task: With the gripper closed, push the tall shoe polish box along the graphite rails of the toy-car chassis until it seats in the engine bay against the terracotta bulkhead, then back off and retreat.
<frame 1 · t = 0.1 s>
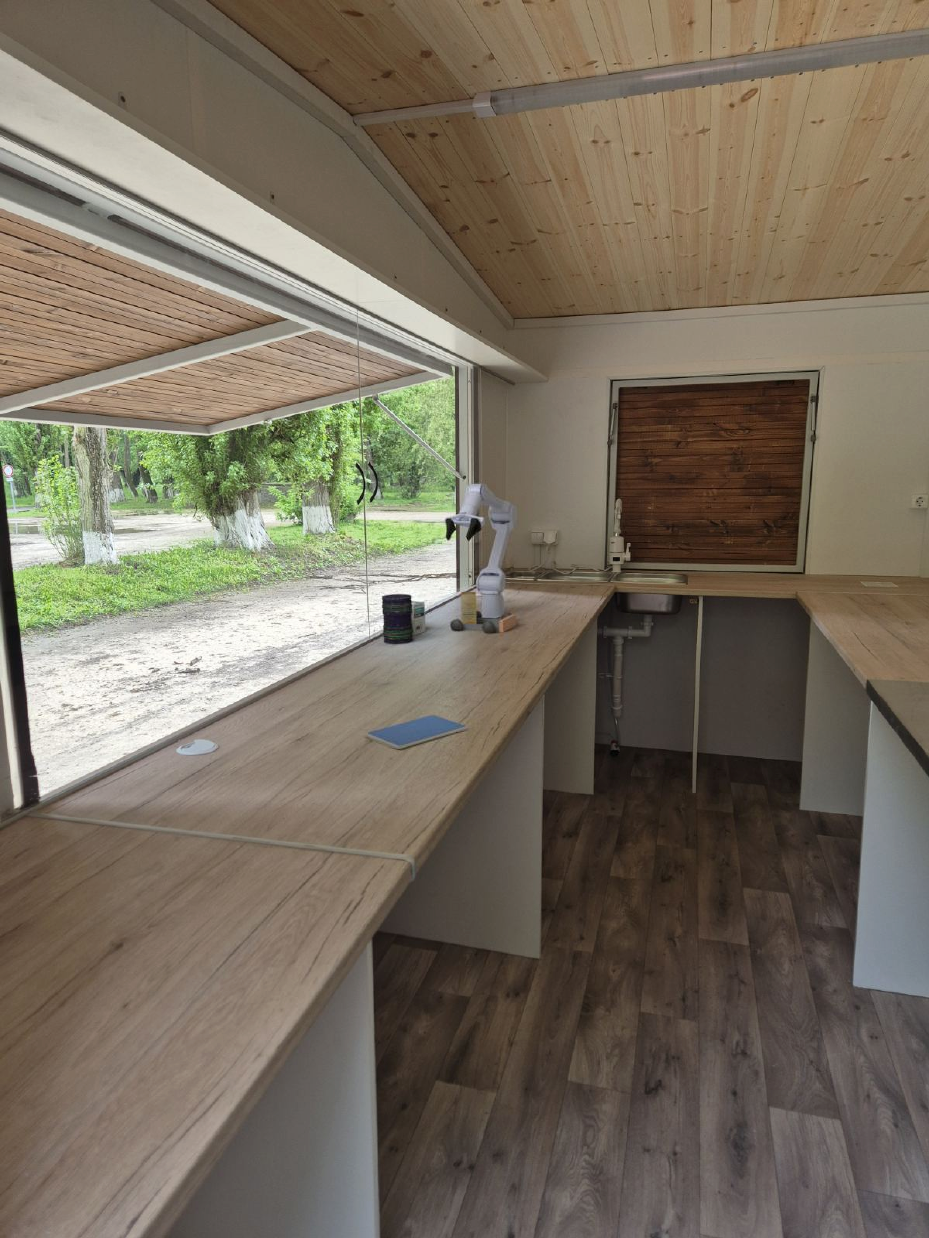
hand: (457, 538, 279), 32 cm above the worktop, tool tilted 50°, fingers open, 7 cm apart
tablet computer: (417, 735, 177), on the worktop
storage jar: (398, 641, 270), on the worktop
shoe polish box: (469, 627, 292), resting in chassis
chassis: (484, 627, 289), on the worktop
light bulb box: (408, 633, 284), on the worktop
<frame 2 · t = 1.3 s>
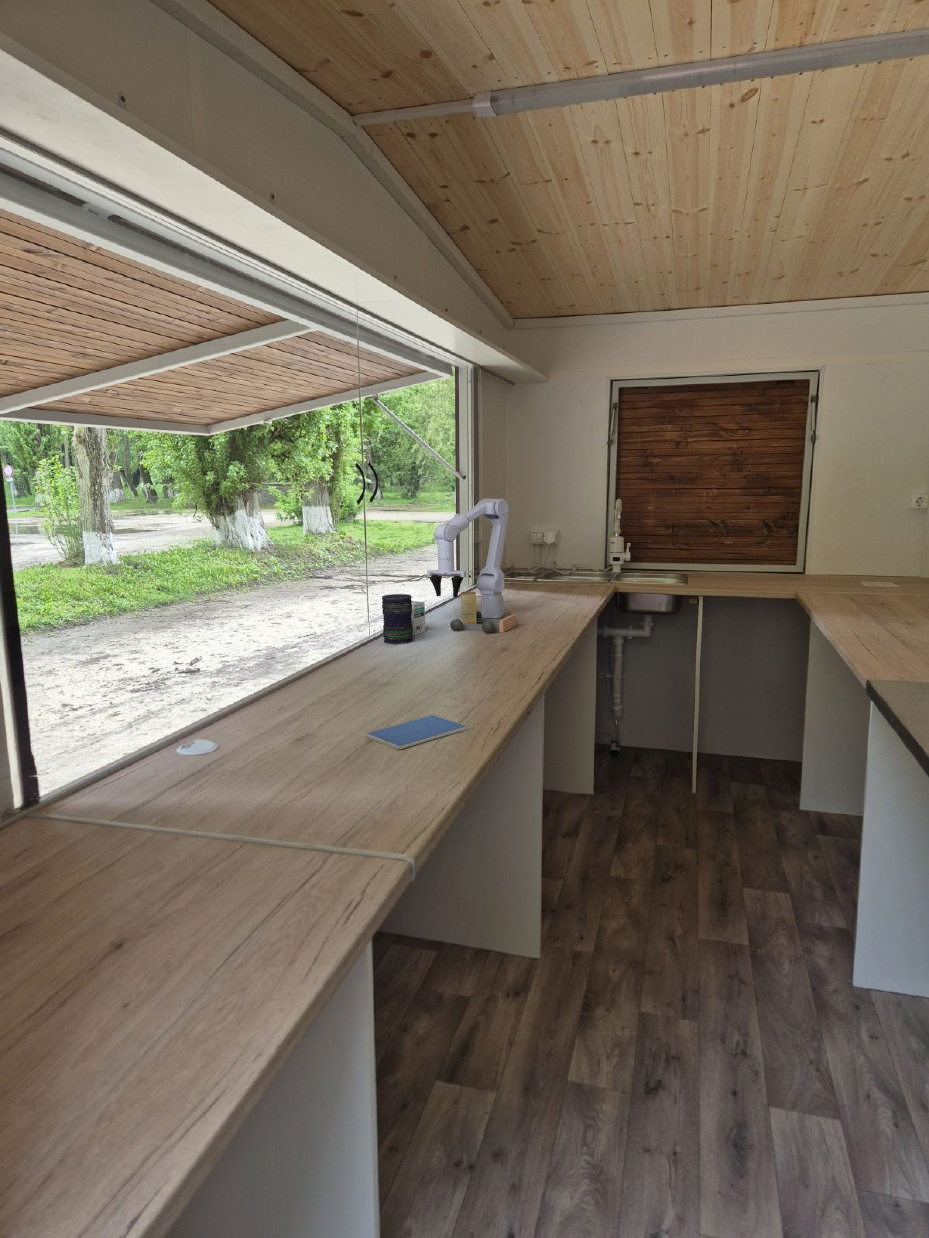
hand: (447, 596, 293), 10 cm above the worktop, tool pointing down, fingers open, 6 cm apart
nothing on the worktop moved.
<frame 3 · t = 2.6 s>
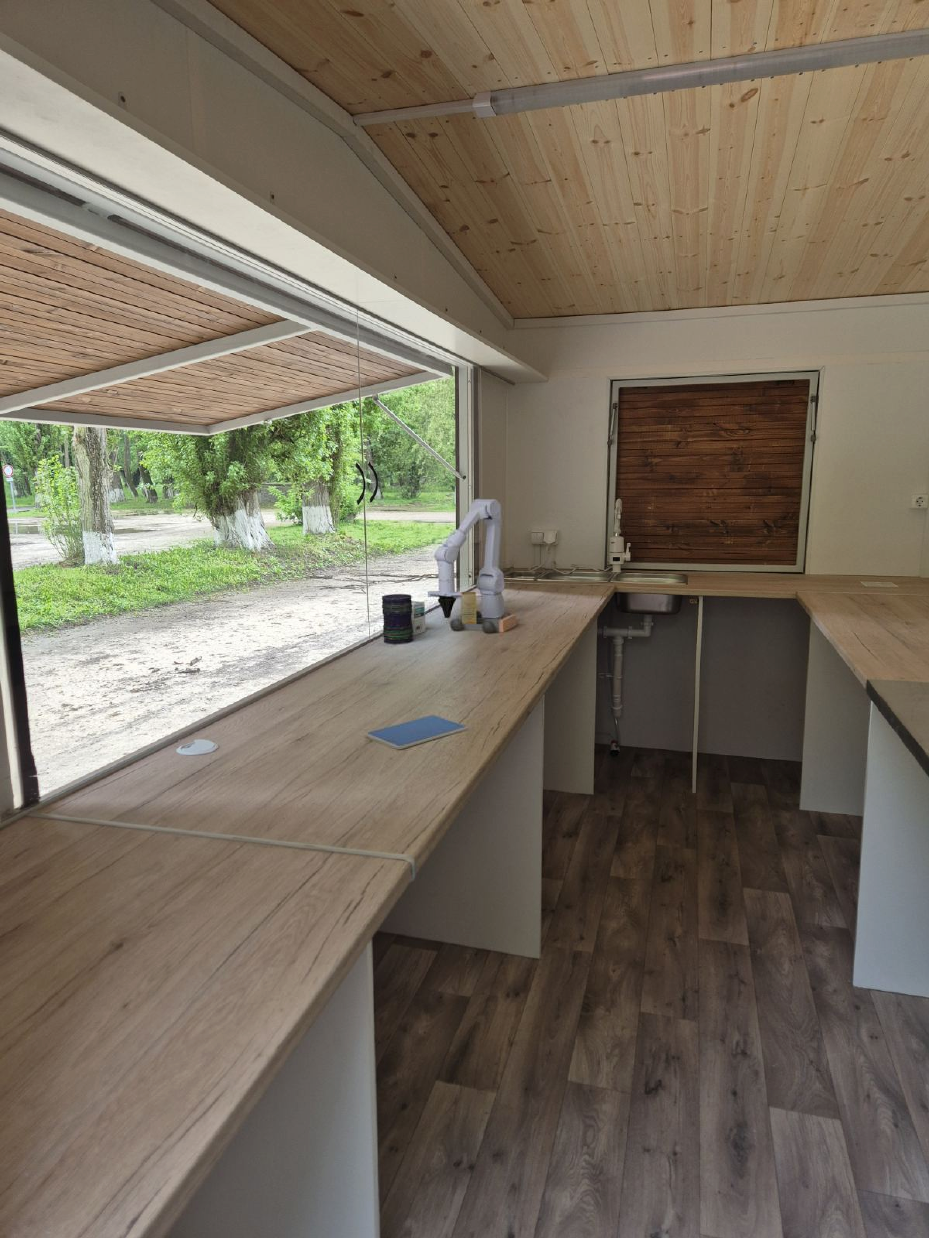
hand: (447, 617, 295), 3 cm above the worktop, tool pointing down, fingers closed
nothing on the worktop moved.
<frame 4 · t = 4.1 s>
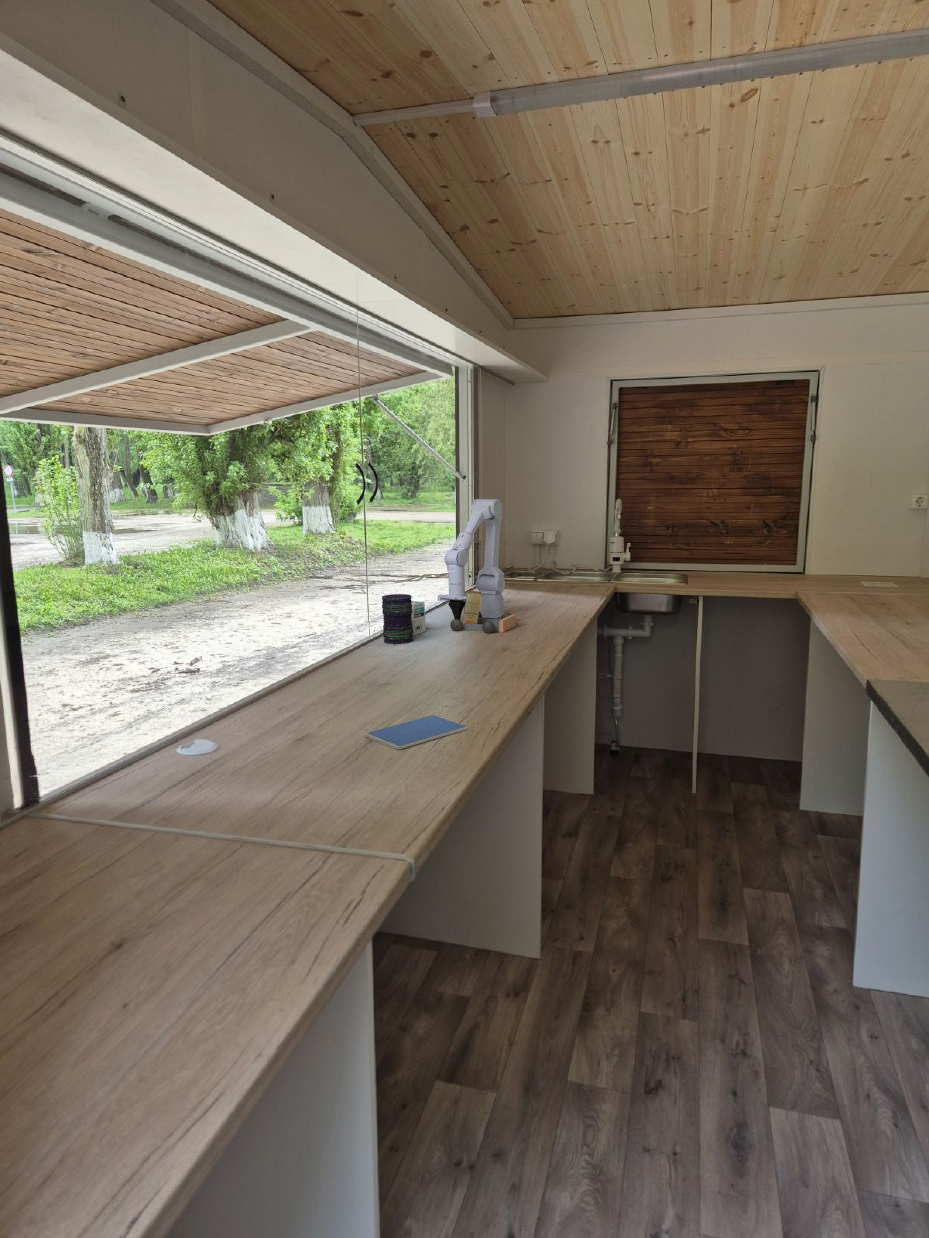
hand: (457, 621, 293), 2 cm above the worktop, tool pointing down, fingers closed
shoe polish box: (469, 625, 292), resting in chassis, touching gripper
everything else where it was.
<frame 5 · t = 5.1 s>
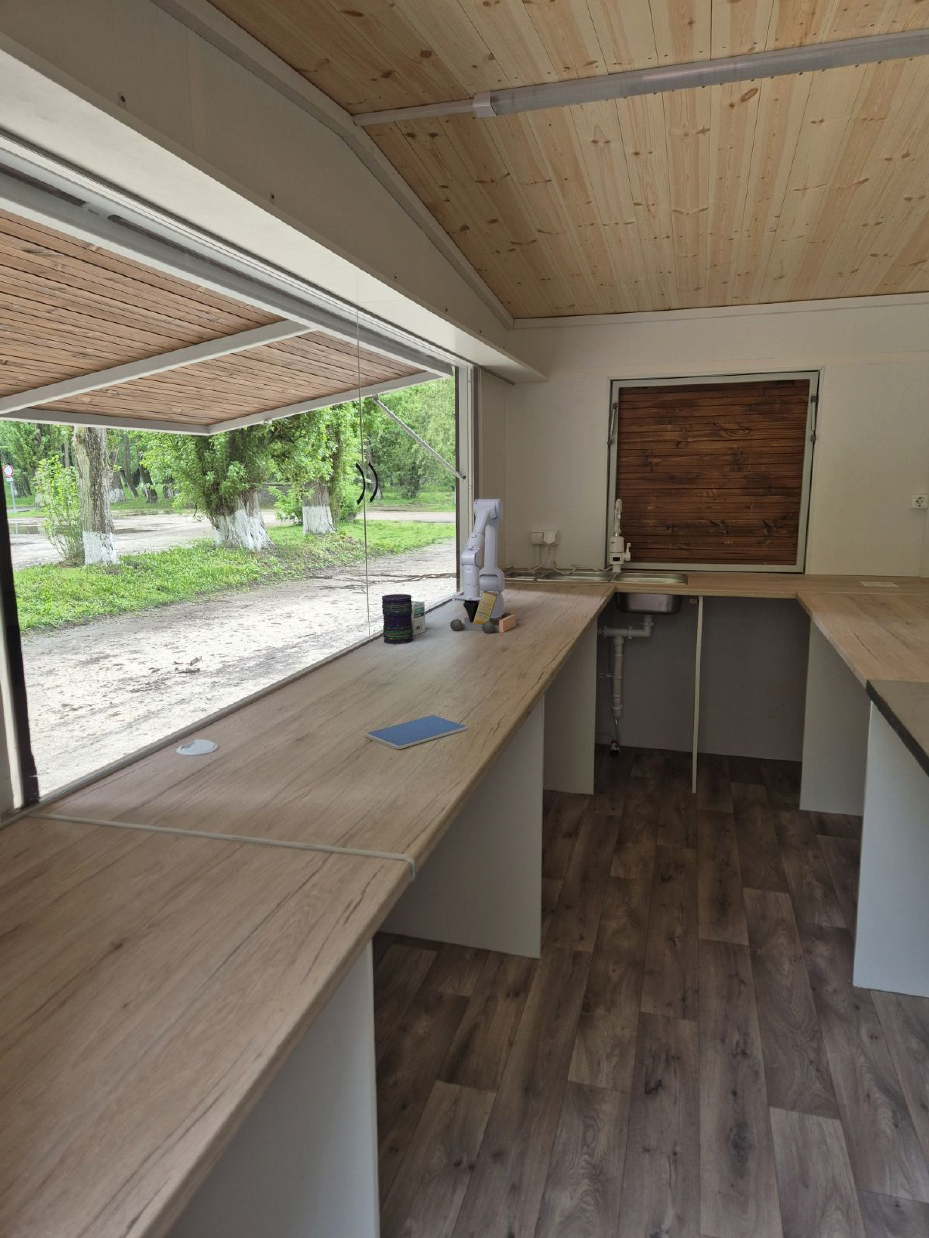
hand: (472, 622, 291), 2 cm above the worktop, tool pointing down, fingers closed
shoe polish box: (480, 625, 289), point 1 cm above the worktop, touching gripper
everything else where it was.
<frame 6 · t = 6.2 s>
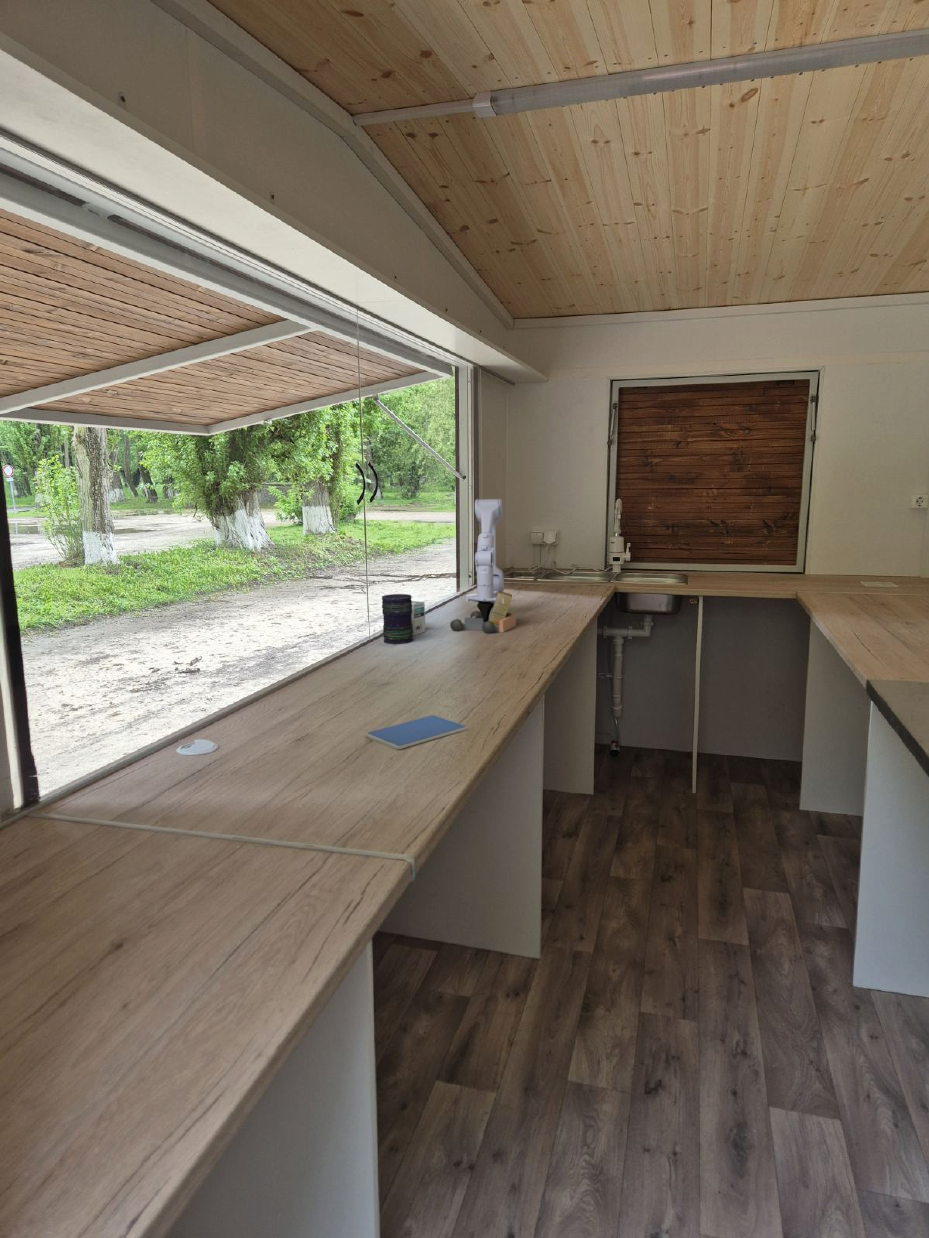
hand: (485, 623, 289), 2 cm above the worktop, tool pointing down, fingers closed, pressing on shoe polish box
shoe polish box: (494, 626, 288), point 1 cm above the worktop, touching chassis, gripper
everything else where it was.
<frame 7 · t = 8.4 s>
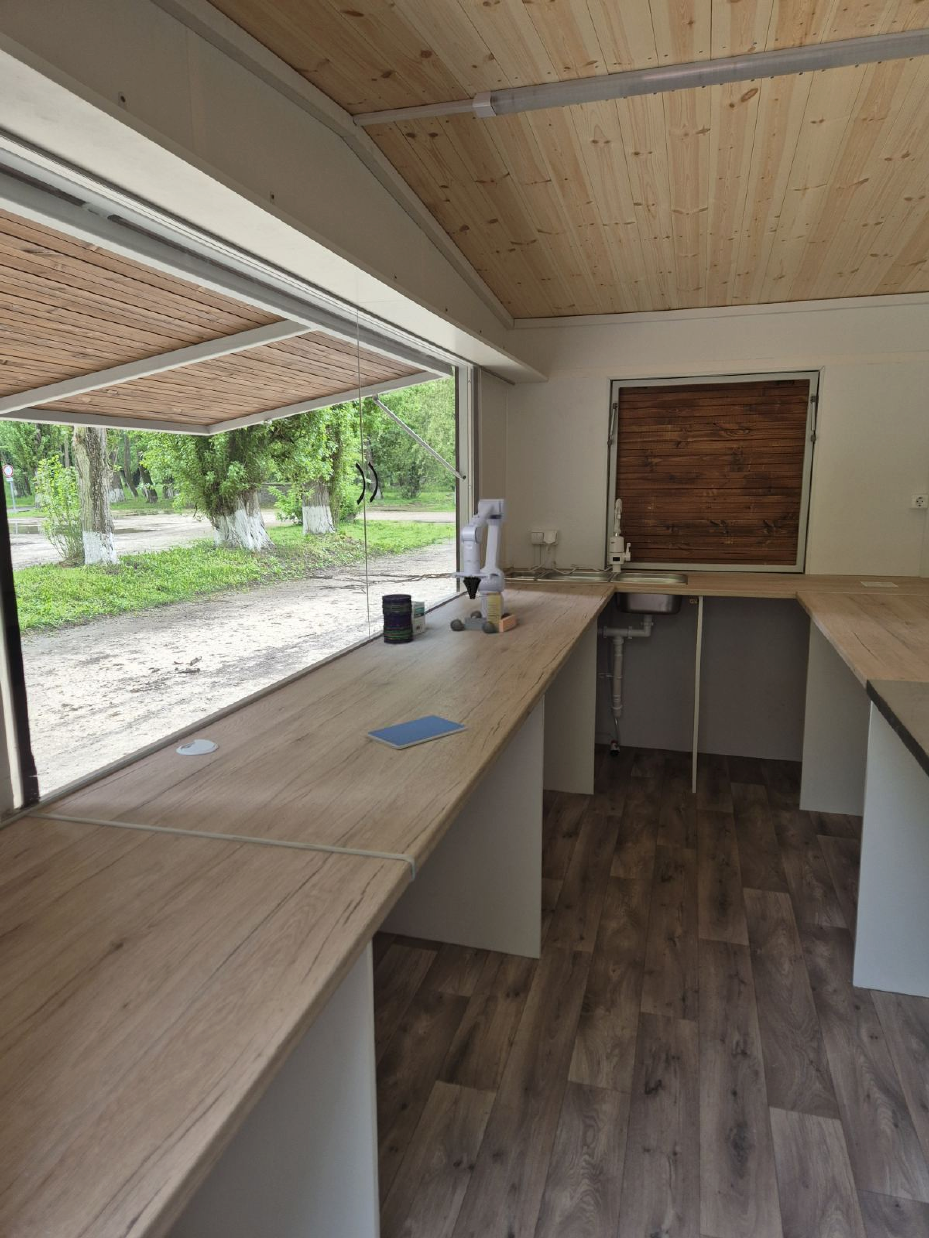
hand: (472, 598, 289), 10 cm above the worktop, tool pointing down, fingers closed
shoe polish box: (494, 628, 288), resting in chassis
everything else where it was.
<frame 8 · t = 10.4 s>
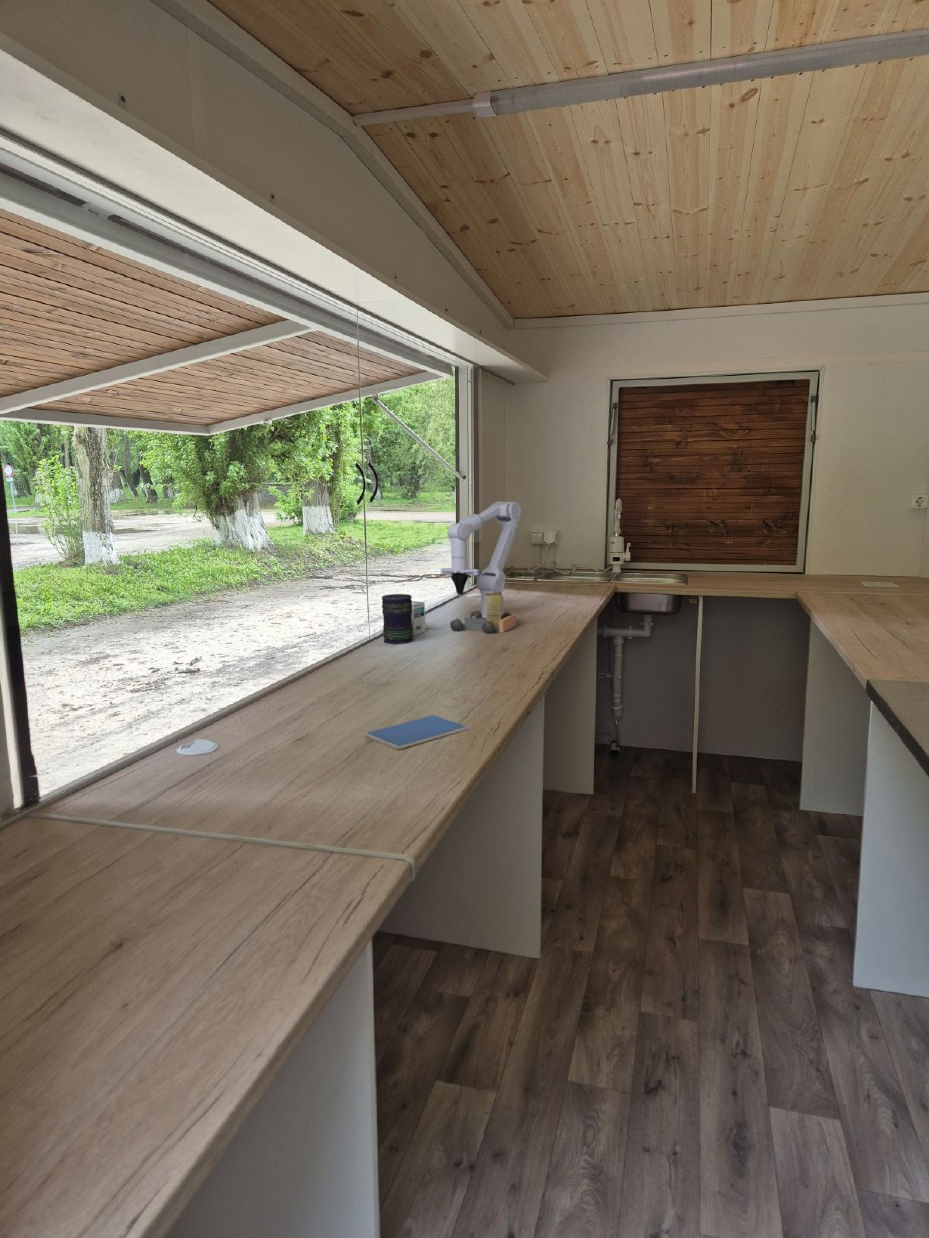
hand: (460, 594, 297), 10 cm above the worktop, tool pointing down, fingers closed
nothing on the worktop moved.
at the end: shoe polish box 0.9 cm from the target spot on the chassis, point 0.0 cm above the chassis's base; shoe polish box tilted 0°; the gripper is holding nothing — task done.
